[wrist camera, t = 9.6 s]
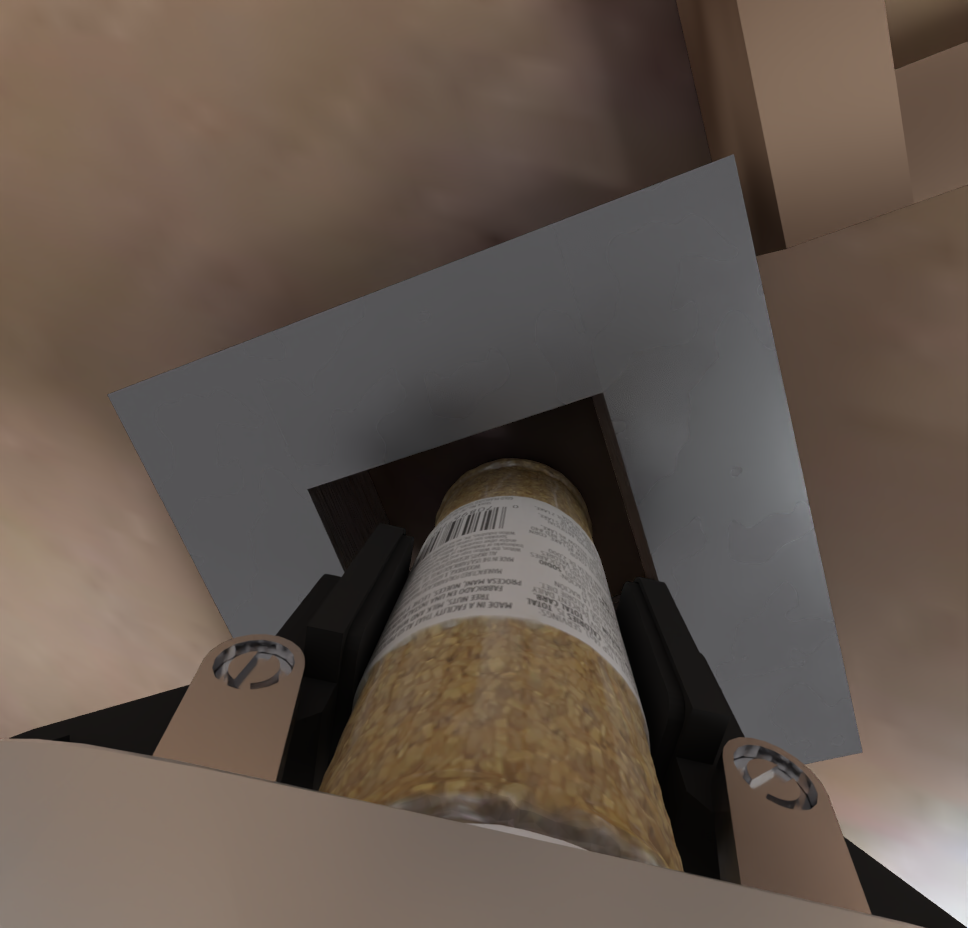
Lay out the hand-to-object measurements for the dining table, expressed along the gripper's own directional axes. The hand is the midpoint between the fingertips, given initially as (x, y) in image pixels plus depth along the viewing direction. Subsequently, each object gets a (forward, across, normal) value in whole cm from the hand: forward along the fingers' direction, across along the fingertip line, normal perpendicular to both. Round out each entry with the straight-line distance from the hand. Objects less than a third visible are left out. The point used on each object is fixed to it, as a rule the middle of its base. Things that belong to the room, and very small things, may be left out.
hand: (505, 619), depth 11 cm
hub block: (+6, 0, 0) cm, 6 cm away
